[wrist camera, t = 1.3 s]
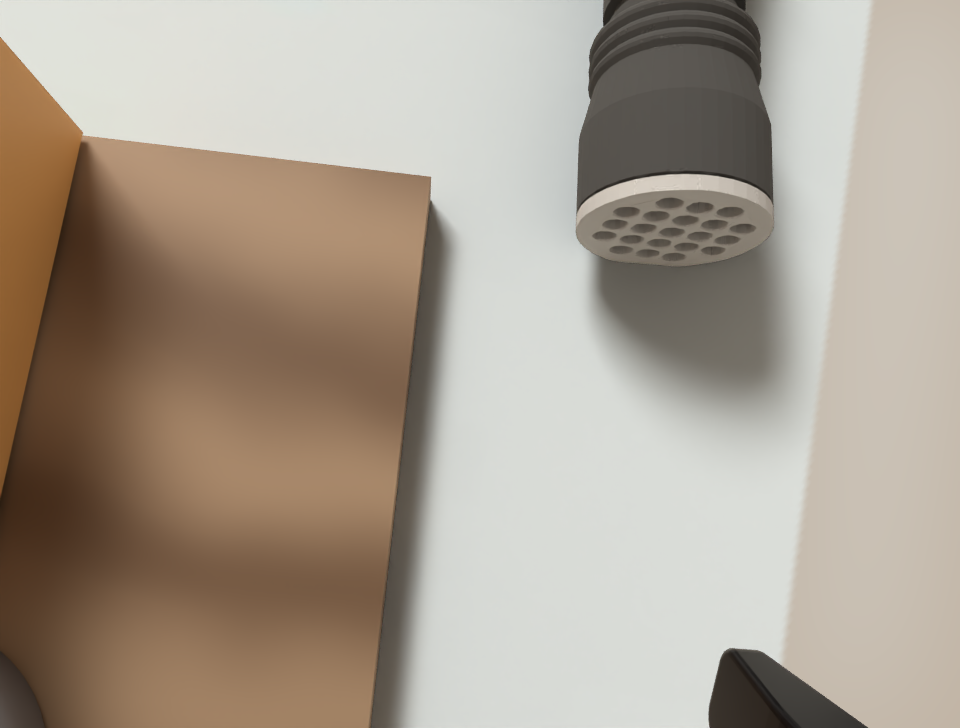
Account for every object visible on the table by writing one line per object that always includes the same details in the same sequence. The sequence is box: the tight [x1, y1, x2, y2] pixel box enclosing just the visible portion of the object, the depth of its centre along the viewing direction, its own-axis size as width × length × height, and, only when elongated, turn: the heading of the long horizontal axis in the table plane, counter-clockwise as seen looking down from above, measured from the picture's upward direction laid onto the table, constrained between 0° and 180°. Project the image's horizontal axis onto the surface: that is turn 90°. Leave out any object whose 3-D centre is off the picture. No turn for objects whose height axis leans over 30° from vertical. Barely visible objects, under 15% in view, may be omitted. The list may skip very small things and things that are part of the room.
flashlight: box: [576, 0, 774, 267], centre depth 23 cm, size 15×5×5 cm, turn 177°
